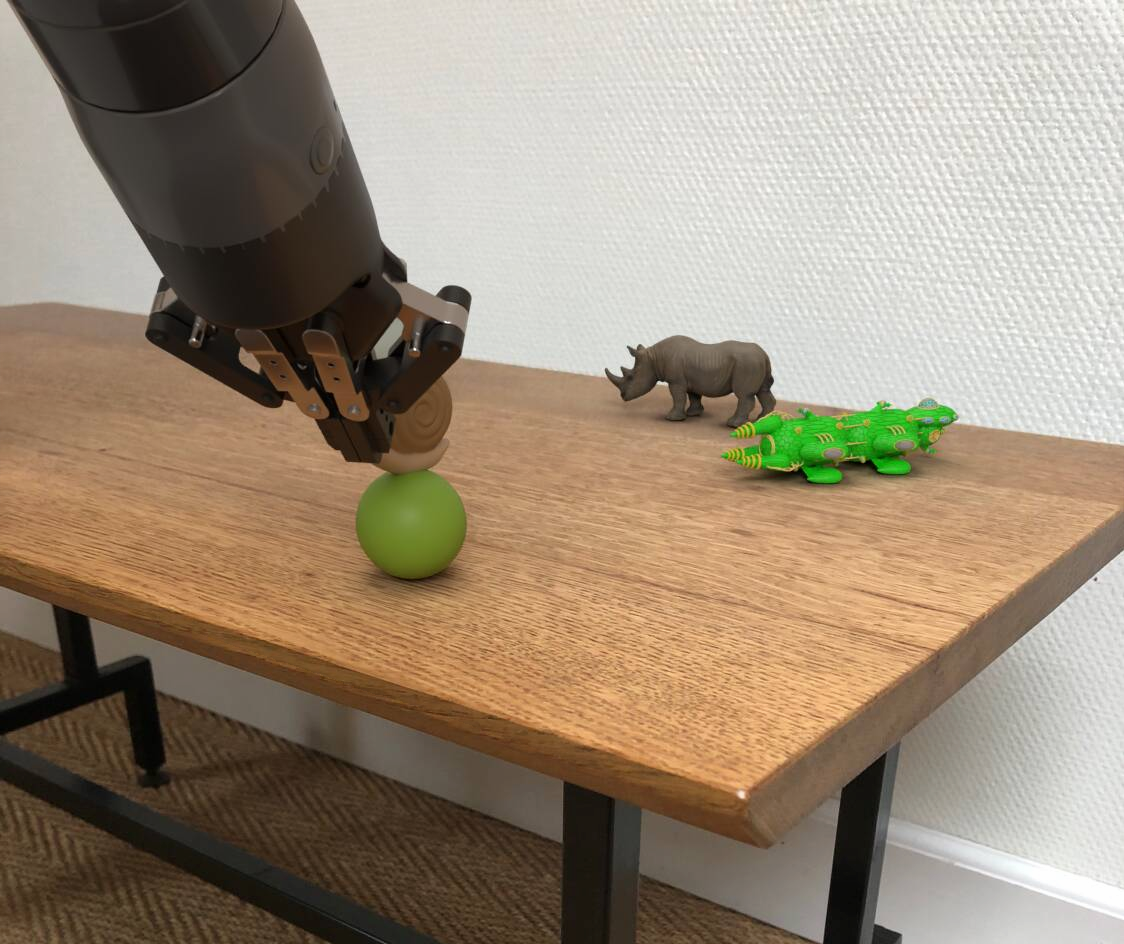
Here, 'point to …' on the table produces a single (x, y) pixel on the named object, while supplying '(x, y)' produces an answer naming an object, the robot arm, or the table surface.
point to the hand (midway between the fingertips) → (367, 445)
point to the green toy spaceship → (842, 439)
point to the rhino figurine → (701, 375)
